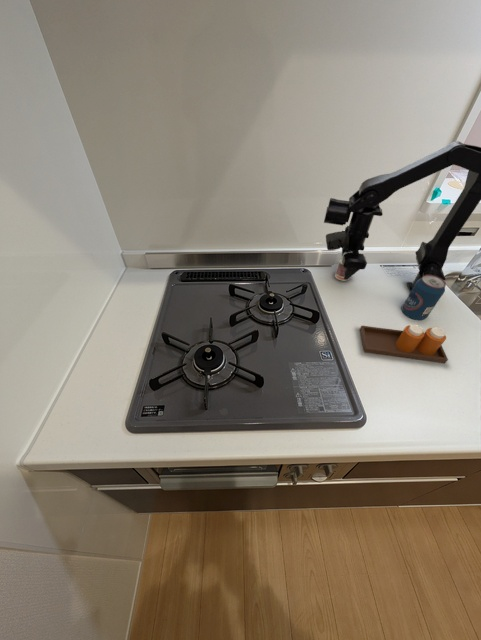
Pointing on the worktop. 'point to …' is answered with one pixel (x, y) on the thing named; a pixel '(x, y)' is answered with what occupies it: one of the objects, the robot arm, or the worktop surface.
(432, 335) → the amber bottle back
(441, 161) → the robot arm
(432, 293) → the soda can
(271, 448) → the worktop surface
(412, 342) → the amber bottle middle
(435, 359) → the tray
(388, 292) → the worktop surface
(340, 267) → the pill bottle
